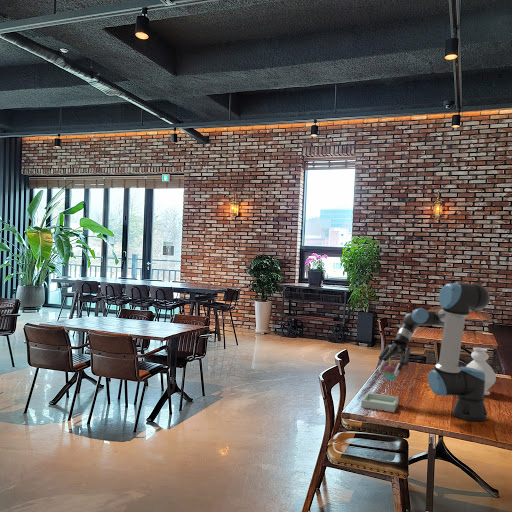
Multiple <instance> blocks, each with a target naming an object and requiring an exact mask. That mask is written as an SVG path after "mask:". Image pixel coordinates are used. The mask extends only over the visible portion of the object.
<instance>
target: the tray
mask: <svg viewBox="0 0 512 512" xmlns="http://www.w3.org/2000/svg"><path fill="white" fill-rule="evenodd" d="M398 405H399V396H393V395H386V394H379V393H373V392H372V393H371V392H366V393H365V394H364V396H363V397H362V399H361V402H360V407H361V408H364V409H369V408H370V409H372V410H376V409H377V411H382V410H384V411H385V412H389V413H395V411H396V410H397V408H398Z"/></svg>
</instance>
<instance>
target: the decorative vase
mask: <svg viewBox="0 0 512 512" xmlns="http://www.w3.org/2000/svg"><path fill="white" fill-rule="evenodd" d="M472 350H473V351H472V352H471V354H470V356H471V358H472V360H471V361H470V362H469V363H467V364H466V366H465V367H469V368H474V369H477V370H480V371H482V372H484V374H485V388H484V396H489V395H490V394H491V392H490V391H489V389H490V388H491V387H492V386H494V384H495V383H496V381H497V377H496V373H495V371H494V370H493V368H492V367H491V365H490V364H489V363H488V362H487V361H488V359H490V355H489V354H488V353H487V352H488V349H487V348H484V347H473V348H472Z"/></svg>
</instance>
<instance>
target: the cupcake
mask: <svg viewBox="0 0 512 512" xmlns="http://www.w3.org/2000/svg"><path fill="white" fill-rule="evenodd" d="M388 363H389V364H388V365H385V366H384V367H383V370H382V373H383V374H384V376H385V379H386V380H387V381H395V380H396V379H397V376H395V374H394V372H395V369H396V367H397V366H394V365H392V364H391V357H389V358H388Z"/></svg>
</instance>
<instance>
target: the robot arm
mask: <svg viewBox="0 0 512 512" xmlns="http://www.w3.org/2000/svg"><path fill="white" fill-rule="evenodd" d="M490 297H491V296H490V293H489V291H488V289H487V288H485V287H484V286H483V285H480V284H478V283H462V282H461V283H459V282H458V283H457V282H453V283H446V284H445V285H444V286H442V288H441V289H440V291H439V295H438V301H439V305H440V307H441V309H438V310H437V311H436V310H433V311H432V310H426V309H425V308H422V307H419V308H417V309H414V311H412V312H411V313H410V312H409V313H406V314H405V315H404V317H403V319H402V322H401V324H400V326H399V329H398V331H397V333H396V335H395V337H394V339H393V342H392V343H391V344H389V343H386V345H385V347H384V349H383V350H382V352H381V353H380V354H379V356H378V359H379V360H380V361H379V364H378V365H379V367H378V372H379V374H382V373H383V371H382V370H383V367H385V366H386V364H387V363H386V361H387V360H389V358H391V356H393V355H395V354H398V355H399V362H398V363H397V364H396V366H395V367H396V369H395V372H394V374H395V376H396V377H398V375H399V374H400V372H401V371H402V369H403V367H404V366H408V365H409V361H410V360H409V359H410V355H411V353H412V349H411V347H409V344H410V342H411V339H412V337H413V334H414V332H415V330H416V329H417V328H419V327H420V326H441V327H443V328H442V329H443V330H442V336H441V337H442V338H441V345H440V352H439V359H438V362H437V363H436V364H435V365H434V369H432V370H430V371H429V372H428V374H427V381H428V385H429V389H430V390H431V391H432V393H433V394H434V395H437V396H443V397H446V396H457V400H456V402H455V404H454V407H453V411H452V414H453V416H454V417H457V418H459V419H461V420H465V421H470V422H486V421H487V420H488V412H487V409H486V406H485V395H484V388H485V374H484V372H482V371H480V370H477V369H474V368H469V367H466V366H459V361H460V355H461V347H462V341H463V335H464V334H463V333H464V327H465V323H466V317H468V316H469V315H470V313H471V312H479V311H480V310H483V309H485V308H486V307H487V306H488V305H489V303H490V300H491V298H490ZM404 352H405V355H404Z"/></svg>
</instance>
